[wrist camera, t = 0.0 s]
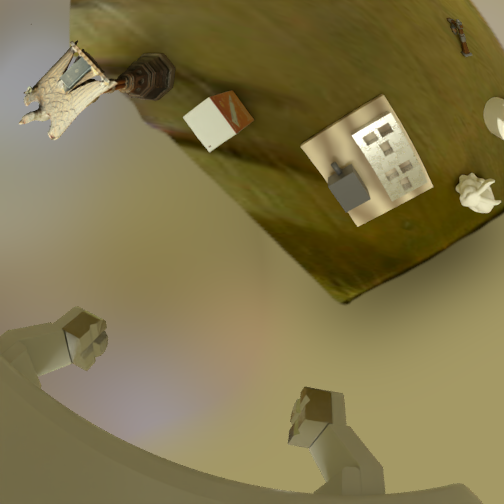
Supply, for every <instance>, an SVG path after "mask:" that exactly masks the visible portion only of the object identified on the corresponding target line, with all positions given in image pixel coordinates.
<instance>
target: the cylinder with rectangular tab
mask: <svg viewBox="0 0 504 504" xmlns="http://www.w3.org/2000/svg"><path fill="white" fill-rule="evenodd" d="M484 121H485V124H486V126H487V128H488V129H489V130H490V132H491V133H493V134H494V135H496V136H498V137H499V138H501V139H502V140H504V99H502V98H499V97H493V98H491V99H489V100H488V101H487V103H486V105H485V108H484Z"/></svg>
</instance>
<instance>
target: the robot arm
mask: <svg viewBox="0 0 504 504" xmlns="http://www.w3.org/2000/svg"><path fill="white" fill-rule="evenodd" d="M106 328H107V326H106V321H105V320H103V319H102V318H99V317H97V316H96V315H94V314H92V313H90V312H88V311H86V310H84V309H82V308H80V307H78V306H77V307H74V308H72V309H71V310H70V311H69V312H67V313H66V314H65V315H63V316H62V317H61V318H60V319H58V320H57V321H56V322H54V323H53V324H52V323H51V322H50V323H45V324H40V325H34V326H29V327H24V328H19V329H13V330H8V331H6V332H5V333H4V334H3V335H1V336H0V504H482V502H481V500H480V499H479V498H478V497H477V496H476V495H475V494H474V493H473V492H472V491H471V490H470V489H469V488H468V487H466V486H465V485H464V484H460V483H457V484H451V485H447V486H442V487H437V488H432V489H426V490H419V491H412V492H404V493H394V494H385V486H384V475H383V467H382V466H381V464H380V463H379V462H378V461H377V459H376V458H375V457H374V456H373V455H372V453H371V452H370V451H369V450H368V448H367V447H366V446H365V445H364V443H363V442H362V441H361V440H360V438H359V437H358V436H357V435H356V433H355V432H354V431H353V430H352V428H351V427H349V426H346V414H345V403H344V395H343V393H338V392H331V391H326V390H321V389H315V388H310V387H304V388H303V390H302V391H301V396H300V399H298V400H297V401H296V403H295V405H294V407H293V410H292V414H291V420H290V422H291V423H292V427H291V429H290V430H289V439H288V444H289V445H294V446H299V447H305V448H309V451H310V452H311V454H312V456H313V458H314V460H315V462H316V464H317V466H318V468H319V470H320V472H321V473H322V475H323V477H324V479H325V481H326V483H325V484H324V485H323V486H321V487H320V488H319V489H318V490H316V491H315V492H314V494H310V493H300V492H292V491H285V490H278V489H271V488H266V487H260V486H255V485H250V484H245V483H241V482H237V481H233V480H228V479H225V478H221V477H217V476H214V475H211V474H207V473H204V472H200V471H197V470H195V469H191V468H189V467H186V466H183V465H180V464H177V463H175V462H172V461H169V460H167V459H164V458H161V457H159V456H157V455H154V454H152V453H150V452H147V451H145V450H143V449H140V448H138V447H136V446H134V445H132V444H130V443H128V442H126V441H124V440H122V439H120V438H118V437H116V436H114V435H112V434H110V433H108V432H107V431H105V430H103V429H101V428H99V427H97V426H96V425H94V424H92V423H91V422H89V421H87V420H86V419H84V418H82V417H81V416H79V415H78V414H76V413H74V412H73V411H71V410H70V409H68V408H67V407H65V406H64V405H62V404H61V403H59V402H58V401H56V400H55V399H54V398H52V397H51V396H50V395H48V394H47V393H45V392H44V391H43V390H42V389H41V384H40V381H39V379H38V376H41V375H44V374H46V373H49V372H52V371H54V370H57V369H59V368H62V367H65V366H67V365H70V364H72V363H73V364H75V365H76V366H78V367H80V368H82V369H84V370H86V371H87V370H88V369H89V368H90V367H91V366H92V365H93V364H94V363H95V357H98V356H101V355H102V354H103V353H104V352H105V350H106V347H107V344H108V336H107V334H106V332H105V331H104V330H105V329H106Z"/></svg>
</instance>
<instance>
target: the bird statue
mask: <svg viewBox="0 0 504 504" xmlns="http://www.w3.org/2000/svg"><path fill="white" fill-rule="evenodd" d="M77 42H78V41H76V42H75V43H74V42H73V41H71V42H70V44H71V45H72V46H71V47H70V48H69V49H68V51H67V52H66V53H65V54H64V55H63V56H62V57H61V58H60V59H59V60H58V61H57V63H56V64H55V65H54V66H53V67H52V68H51V69H50V70H49V71H48V72H47V73H46V74H45V75H44V76H43V77H42V78H41V79H40V80H39V81H38V82H37V84H36V85H35V86H34V87H33V88H32V87H28V89H27V91H26V92H24V94H27V95H26V96H25V98H24V103H25V105H26V106H28V105H29V104H30V103H31V102H34V101H37V102H38V103H39V109H38V110H36V111H33V112H29V113H28V114H26V115H24V116H23V117H22V120H21V121H20V122H19V124H26V123H28V122H31V121H33V120H38V121H46V120H48V119H50V120H51V126H50V127H51V128H50V130H49V132H48V136H49V137H50V138H51V139H52V140H56V139H58V138H59V137H60V136H61V135H62V134H63V132H65V130H66V129H67V127H69V125H70V124H71V123H72V121H73V120H74V119H75V118H76V117H77V116H78V115H79V114H80V112H81V111H83V109H85V107H87V106H89V105H90V104H91V103H94V102H95V101H96V100H97V99H98V98H99V96H100V95H101V94H103V93H112V92H114V91H115V90H119V91H120V92H122V93H128V95H129V96H131V98H132V97H135V98H139V99H145V100H159V99H161V98H162V97H163V96H164V95H165V94H166V93H167V92H168V91H169V90H171V89H172V88H173V83H174V75H175V67H174V65H173V64H172V63H171V62H170V60H169V59H168V58H167V57H166V55H165V54H158V53H147V54H143V55H142V56H141V57H140V58H139V59H138V60H137V61H134V62H133V63H132V64H131V65H130V66H129V68H128V69H127V70H126V71H125V72H124V73H122V74H121V75H120V76H118V79H116V80H114V79H108V78H107V77H106V76H105V75H104V74H103V73H105V72H104V71H103V70H102V69H101V68H100V66H99V65H98V63H97V62H96V61H95V60H94V58H93V57H91V55H90V54H89V53H87V52H85V51H84V49H82V50H80V48H78V46H77ZM75 52H78V53H79V55H78V57H77V59H76V60H75V62H74V64H73V65H72V66H71V67H70V68H69V69H68V70H67V68H68V66H69V64H70V62H71V60H72V57H73V54H74V53H75ZM66 70H67V71H66ZM98 75H100V76H101V78H102V81H96V80H95V79H91V78H92V77H94V76H98ZM88 79H89V80H88Z"/></svg>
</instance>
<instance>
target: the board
mask: <svg viewBox="0 0 504 504" xmlns="http://www.w3.org/2000/svg"><path fill="white" fill-rule="evenodd" d="M386 111H389V112H391V114H392V115H393V117H394V119H395V120H396V122H397V124H398V125H399V127H400V129H401V130H402V132H403V134H404V136H405V138H406V139H407V141H408V143H409V145H410V147H411V149H412V151H413V152H414V154H415V156H416V158H417V160H418V162H419V164H420V166H421V168H422V171H423V173H424V175H425V177H426V179H427V181H428V183H426V184H424V185H422V186H420V187H418V188H416V189H415V190H413V191H411V192H409V193H407V194H405V195H403V196H402V197H400V198H398V199H396V200H394V201H391V199H390V197H389V195H388V193H387V192H386V190H385V188H384V186H383V185H382V183H381V181H380V179H379V178H378V176H377V174H376V173H375V171H374V169H373V168H372V166H371V165H370V163H369V161H368V160H367V158H366V157H365V155H364V153H363V152H362V150H361V149H360V147H359V146H358V144H357V143H356V141H355V140H354V138H353V137H352V135H351V132H353V131H354V130H356V129H358V128H359V127H361V126H363V125H364V124H366V123H368V122H369V121H371V120H373V119H374V118H376V117H378V116H380V115H381V114H383V113H385V112H386ZM389 129H391V128H390V126H389V125H388V123H386V124H384V125H383V126H381V127H379V128H377V130H378V131H379V133H380V134H382V133H384V132H385V131H387V130H389ZM375 137H377V136H376V135H375V133H374V131H372V132H371V133H369V134H367V135H365V136H364V137H363V139H364V140H365V142H368V141H370V140H372V139H373V138H375ZM379 146H380V148H381V150H382V151H383V152H385V151H387V150H389V149H390V148H391V147H390V145H389V143H388V141H385V142H383V143H382V144H380V145H379ZM300 147H301V148H302V149H303V151H304V152H305V153H306V154H307V156H308V157H309V158H310V160H311V161H312V162H313V164H314V165H315V166H316V168H317V169H318V170H319V172H320V173H321V174H322V176H323V177H324V179H325V180H326V181H327V183H328V177H330V176H331V175H333V174H335V173H336V172H335V171H334V169H333V168H332V167H331V163H333V162H336V163H337V164H338V166H339V167H340V169H343V168H345V167H347V166H348V165H350V164H352V165H353V167H354V168H355V170H356V171H357V173H358V174H359V176H360V177H361V179H362V181H363V182H364V184H365V185H366V187H367V189H368V191H369V195H370V198H371V199H370V200H368V201H367V202H365V203H363V204H361V205H359V206H357V207H356V208H354V209H352V210H350V211H348V213H349V215H350V216H351V218H352V219H353V221H354V222H355V224H356V225H357V227H358V226H360V225H362V224H364V223H366V222H368V221H370V220H372V219H374V218H376V217H378V216H380V215H381V214H383V213H385V212H387V211H389V210H391V209H393V208H395V207H397V206H399V205H400V204H402V203H404V202H406V201H408V200H410V199H412V198H414V197H415V196H417V195H419V194H421V193H423V192H425V191H427V190H428V189H430V188H432V187H433V185H432V183H431V181H430V178H429V176H428V174H427V172H426V170H425V168H424V165H423V163H422V161H421V159H420V157H419V155H418V153H417V151H416V149H415V147H414V146H413V144H412V142H411V140H410V138H409V136H408V134H407V133H406V131H405V129H404V127H403V126H402V124H401V122H400V120H399V119H398V117H397V115H396V114H395V112H394V110H393V109H392V107H391V106H390V104H389V102H388V101H387V99H386V98H385V96H384V95H383V94H381V95H379V96H377V97H376V98H374V99H372V100H371V101H369V102H367V103H365V104H364V105H362V106H360V107H359V108H357V109H356V110H354V111H352V112H351V113H349V114H347V115H346V116H344V117H342V118H341V119H339V120H338V121H336V122H334V123H333V124H331V125H330V126H328V127H327V128H325V129H323V130H322V131H320V132H319V133H317V134H316V135H314V136H313V137H311V138H310V139H308V140H307V141H305V142H304V143H302V144H301V146H300ZM409 164H410V162H409V160H407V161H406V162H404V163H402V164H400V165H398V166H399V167H400V169H401V168H403V167H405V166H407V165H409ZM396 171H397V170H396V168H393V169H391V170H389V171H388V172H386V173H385V175H386V177H387V176H389V175H391V174H392V173H394V172H396ZM399 181H400V183H401V185H402V186H403V185H404V184H406V183H408V182H409V180H408V178H407V177H405V178H403V179H401V180H399Z"/></svg>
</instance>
